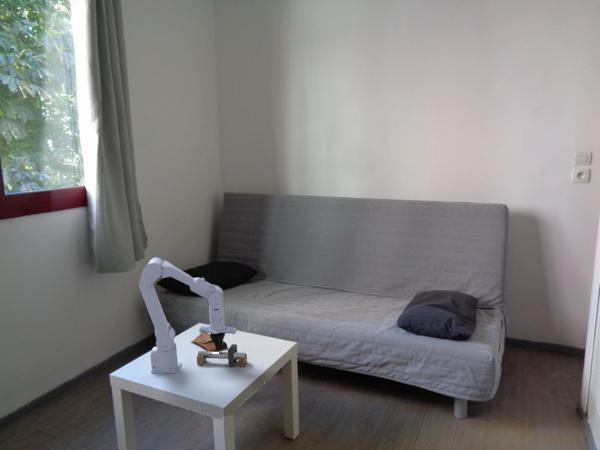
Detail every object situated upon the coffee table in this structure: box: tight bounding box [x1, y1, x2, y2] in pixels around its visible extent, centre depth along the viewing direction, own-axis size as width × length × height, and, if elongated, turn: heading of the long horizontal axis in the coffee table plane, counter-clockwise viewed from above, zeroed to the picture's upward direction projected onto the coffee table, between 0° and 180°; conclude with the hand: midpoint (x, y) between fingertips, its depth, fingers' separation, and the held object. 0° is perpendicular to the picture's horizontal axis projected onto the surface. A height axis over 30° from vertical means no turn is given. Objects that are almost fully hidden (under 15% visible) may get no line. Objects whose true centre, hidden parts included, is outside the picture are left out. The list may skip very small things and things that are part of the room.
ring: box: [227, 343, 238, 367], centre depth 179 cm, size 2×6×6 cm, turn 172°
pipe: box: [196, 350, 248, 368], centre depth 180 cm, size 19×4×5 cm, turn 82°
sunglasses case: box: [190, 333, 228, 352], centre depth 198 cm, size 18×7×7 cm, turn 44°
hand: (219, 350), depth 180 cm, fingers closed
